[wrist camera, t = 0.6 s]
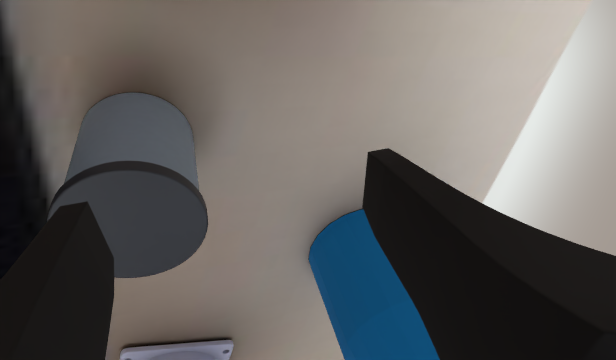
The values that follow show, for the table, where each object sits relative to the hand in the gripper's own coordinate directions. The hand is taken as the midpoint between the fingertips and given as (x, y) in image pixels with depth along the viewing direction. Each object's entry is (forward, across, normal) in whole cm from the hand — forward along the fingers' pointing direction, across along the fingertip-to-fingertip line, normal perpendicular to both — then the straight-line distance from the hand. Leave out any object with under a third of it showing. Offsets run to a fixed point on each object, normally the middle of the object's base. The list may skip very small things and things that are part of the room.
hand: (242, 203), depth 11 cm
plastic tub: (+10, +4, +3) cm, 11 cm away
